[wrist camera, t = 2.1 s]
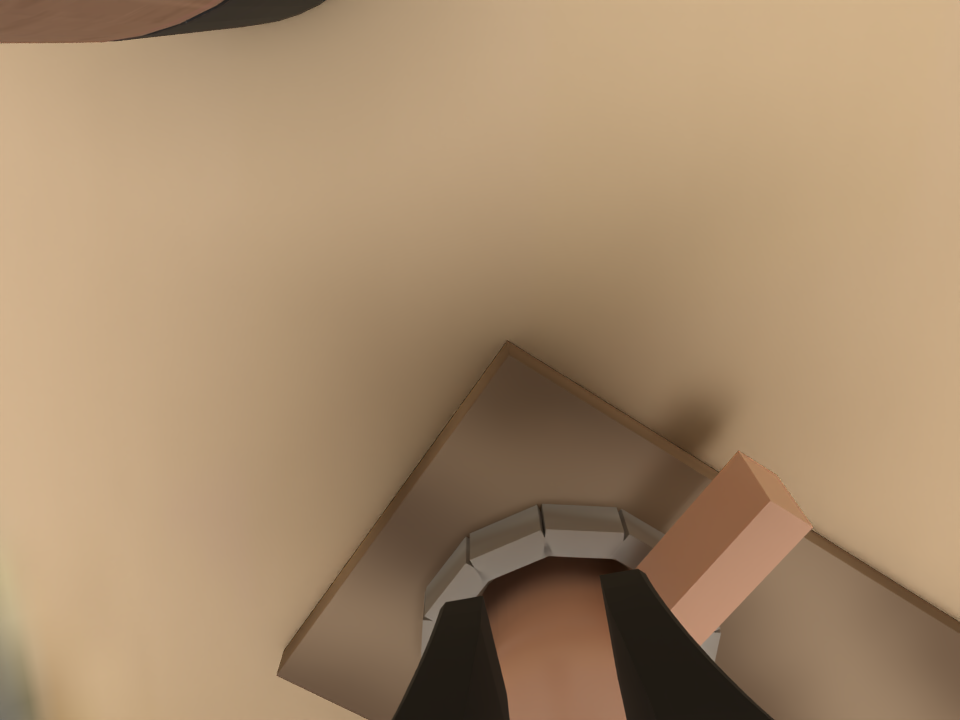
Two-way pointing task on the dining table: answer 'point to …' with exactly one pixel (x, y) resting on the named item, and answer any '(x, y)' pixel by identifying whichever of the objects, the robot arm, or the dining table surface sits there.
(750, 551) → the cylinder with stick handle
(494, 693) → the robot arm
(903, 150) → the dining table surface
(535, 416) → the board
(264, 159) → the dining table surface
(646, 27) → the dining table surface
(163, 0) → the travel mug
